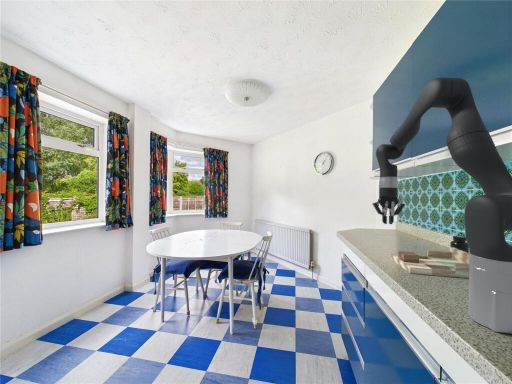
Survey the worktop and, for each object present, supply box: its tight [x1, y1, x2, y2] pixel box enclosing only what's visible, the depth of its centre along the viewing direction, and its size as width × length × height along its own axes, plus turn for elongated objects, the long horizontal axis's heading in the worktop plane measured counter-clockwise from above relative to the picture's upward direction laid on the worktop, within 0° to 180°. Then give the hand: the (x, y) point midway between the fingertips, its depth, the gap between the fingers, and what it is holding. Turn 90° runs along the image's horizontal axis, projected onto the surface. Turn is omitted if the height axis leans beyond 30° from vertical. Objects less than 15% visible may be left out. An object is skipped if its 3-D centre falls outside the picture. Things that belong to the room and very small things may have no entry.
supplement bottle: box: [449, 235, 469, 253], centre depth 106 cm, size 7×7×12 cm
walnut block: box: [397, 250, 420, 263], centre depth 97 cm, size 6×6×4 cm
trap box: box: [390, 246, 469, 279], centre depth 95 cm, size 20×27×8 cm
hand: (387, 223), depth 99 cm, fingers closed
